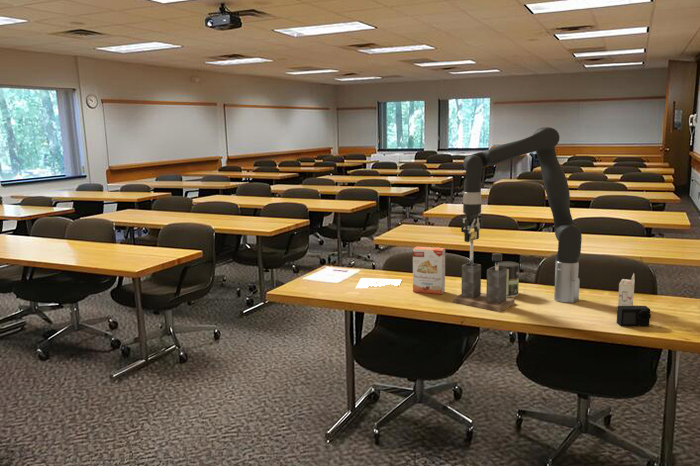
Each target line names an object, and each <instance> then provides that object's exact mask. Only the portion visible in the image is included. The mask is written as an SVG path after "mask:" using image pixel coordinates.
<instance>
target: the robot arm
mask: <svg viewBox="0 0 700 466" xmlns="http://www.w3.org/2000/svg"><path fill="white" fill-rule="evenodd" d="M560 138H561V137H560V134H559V131H558V130H557V129H555V128H553V127H550V126H549V127H548V126H546V127H540V128H537V129H536V130H535V131H534V132H533V134H531V135H530V136H527V137H525V138H522V139H519V140H515V141H512V142H508V143H507V142H506V143H504V144H500V145H498V146H494V147H492V148H491V147H490V148H488V149H486V150H484V151H480V152H476V153H472V154H469V155H467V156H466V157H465V158H464V160H463V163H462V164H463V168H464V169H465V179H464V183H463V199H462V200H463V201H462V203H463V205H462V207H463V208H462V209H463V210H462V213H463V214H465V217H463V218H461V219H460V224H461V225H460V228H461V229H460V230H461V233H463V234H464V235H463V237H464V242H465V243H470V231H472V229H473V231H475V232H477V239H476V240H478V239H480V231H481V229H483V215H482V177H483V168H486V167H489V166H495V165H496V166H497V165H499V164H501V163H504V162H505V163H506V162H507V161H509V160H512V159H515V158H518V157H521V156H523V155H527V154H530V153H533V152H536V155H537V159H538V160H539V161H538V162H539V165H540V166H539V167H540V171H541V177H542V181H543V186H544V190H545V194H546V198H547V200H548V205H549V208H550V211H551V215H552V218H553V224H554V225H553V227H554V234H555V237H556V239H557V242H558V243H557V245H558V246H557V253H556V255H555V269H554V296H553V297H554V298H553V299H554V300H555V301H557V302H561V303H570V304H571V303H572V304H573V303H576V302H577V301H579V298H580V297H579V296H580V280H581V279H580V278H579V265H580V264H579V263H580V262H579V260H580V257H581V253H582V252H581V251H582V240H583V239H582V232H581V230H580V229H579V228H578V227H577V226H576V225H575V222H574V219H573V216H572V214H571V213H572V212H571V208H570V206H571V204H570V203H571V195H570V189H569V188H570V187H569V184H568V180H567V179H568V178H567V177H566V174H565V172H564V170H563V167H562V165H561V163H560V162H559V160H558V156H557V153H556V147H557V145H558V144H559V142H560Z"/></svg>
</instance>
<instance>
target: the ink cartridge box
mask: <svg viewBox="0 0 700 466" xmlns="http://www.w3.org/2000/svg"><path fill="white" fill-rule="evenodd" d="M635 283H636V282H635V273H633V274H632V276H631V279H626V278H625V279H624V278H622V279H621V280H620V282H619V283H618V303H617V307H618V306H634V295H635Z"/></svg>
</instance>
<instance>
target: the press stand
mask: <svg viewBox="0 0 700 466" xmlns="http://www.w3.org/2000/svg"><path fill="white" fill-rule="evenodd" d="M506 280H507V268H500V267H499V271H497V270H495V266H492V267H489V268H487V269H486V293H483V292H481V291H482V290H481V289H482V285H481V284H482V265H481V264H480V263H479V264H478V263H474V262H473V267H471V266H470V262H467V263H465V264H464V263H463V264H461V293H460V294H458V295H456V296H454V297H452V303H455V304H459V305H464V306H470V307H474V308H478V309H484V310H489V311H494V312H497V313H500V312H501V311H503V310H505V309H508V308H509V307H511V306H513V305H515V298H513V297H506Z"/></svg>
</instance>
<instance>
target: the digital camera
mask: <svg viewBox="0 0 700 466" xmlns="http://www.w3.org/2000/svg"><path fill="white" fill-rule="evenodd" d="M651 316H652V314H651V308H650V307H648V306H647V305H633V306H618V305H617V307H616V324H617V325H618V326H620V328H622V327H623V328H624V327H626V328H627V327H629V328H630V327H632V328H633V327H634V328H635V327H638V328H640V327H641V328H642V327H646V328H647V327H648V328H649V327H650V319H651V318H652V317H651Z"/></svg>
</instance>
